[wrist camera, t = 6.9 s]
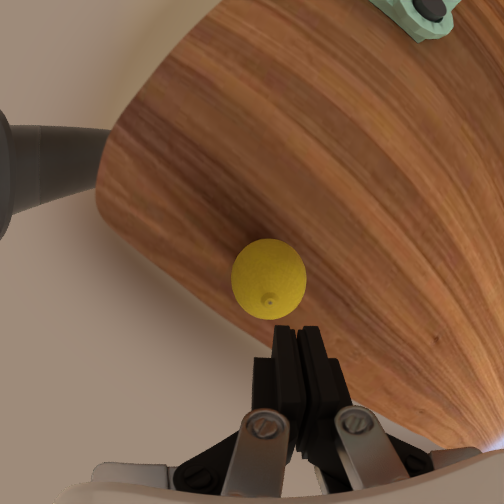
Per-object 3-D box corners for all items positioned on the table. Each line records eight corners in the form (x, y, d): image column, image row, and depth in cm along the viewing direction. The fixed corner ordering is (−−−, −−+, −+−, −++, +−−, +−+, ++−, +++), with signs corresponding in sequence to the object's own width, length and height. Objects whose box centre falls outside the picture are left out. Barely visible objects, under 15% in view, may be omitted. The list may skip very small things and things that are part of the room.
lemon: (311, 249, 25) (332, 290, 17) (275, 297, 27) (280, 351, 19) (257, 215, 24) (256, 244, 17) (223, 267, 26) (209, 314, 18)
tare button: (431, 26, 15) (440, 21, 13) (407, 3, 14) (415, -3, 13) (442, 13, 14) (451, 8, 13) (420, -8, 14) (427, -14, 12)
